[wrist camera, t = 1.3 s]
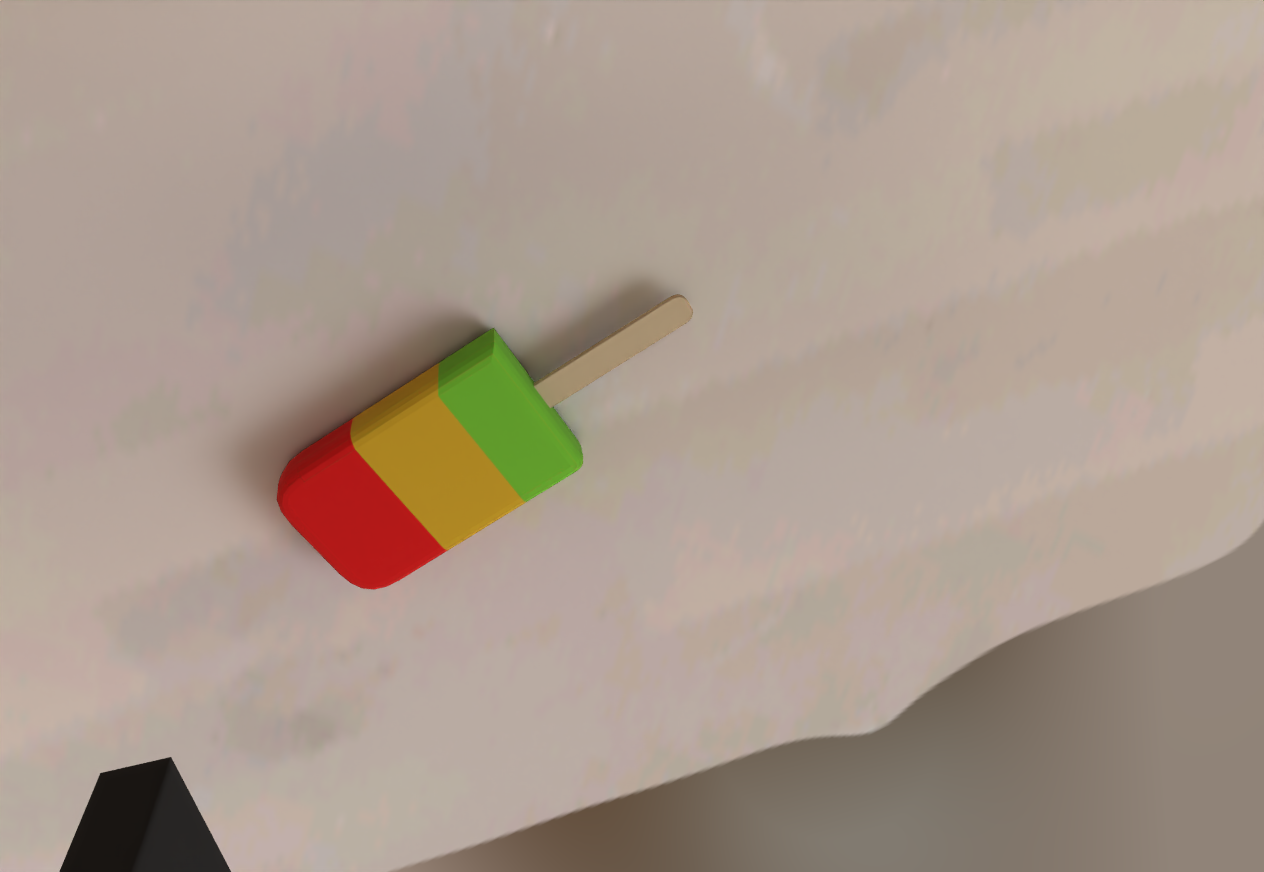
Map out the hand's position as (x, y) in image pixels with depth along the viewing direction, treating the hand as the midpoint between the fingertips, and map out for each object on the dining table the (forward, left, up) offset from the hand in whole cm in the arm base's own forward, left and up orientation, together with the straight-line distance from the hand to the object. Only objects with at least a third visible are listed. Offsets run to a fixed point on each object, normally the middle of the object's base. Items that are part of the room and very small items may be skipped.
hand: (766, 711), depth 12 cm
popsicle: (+3, -7, -23) cm, 24 cm away
